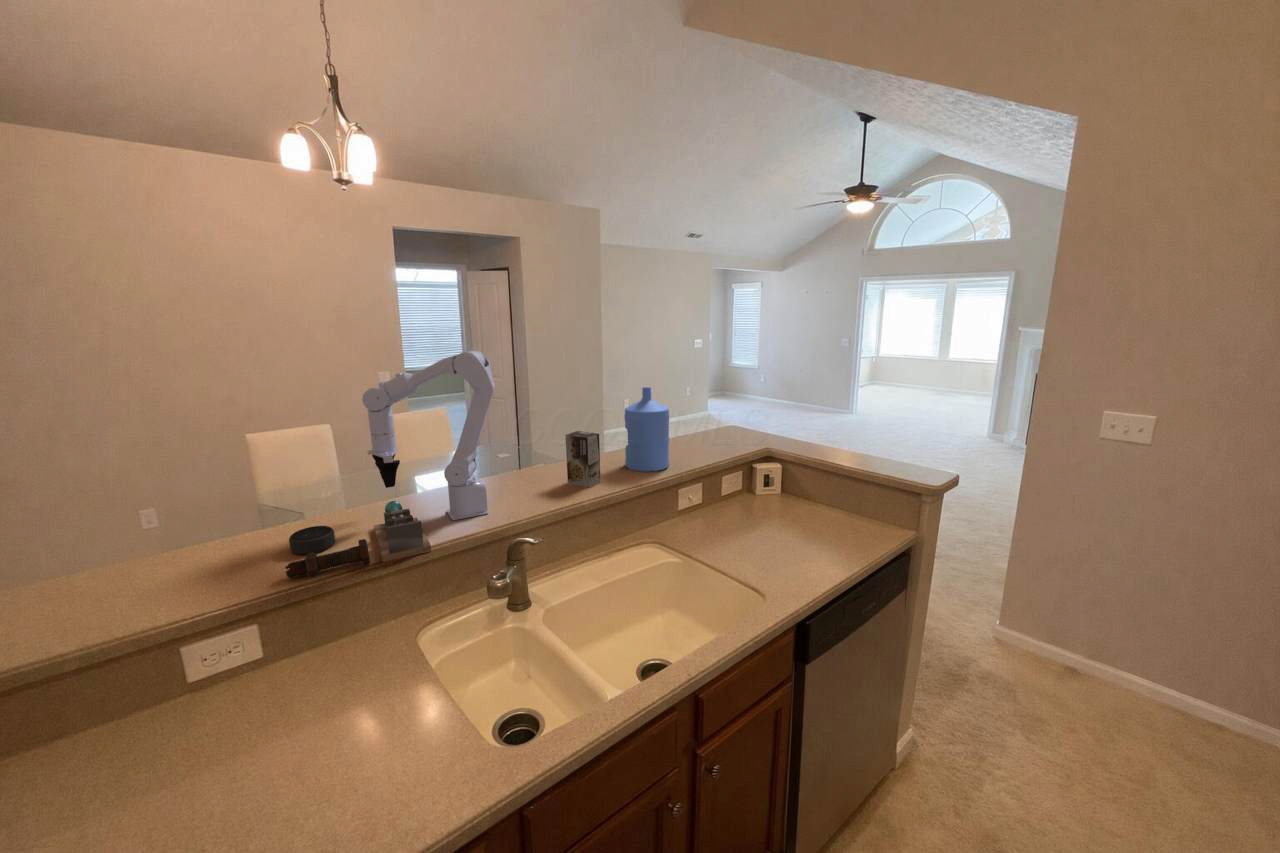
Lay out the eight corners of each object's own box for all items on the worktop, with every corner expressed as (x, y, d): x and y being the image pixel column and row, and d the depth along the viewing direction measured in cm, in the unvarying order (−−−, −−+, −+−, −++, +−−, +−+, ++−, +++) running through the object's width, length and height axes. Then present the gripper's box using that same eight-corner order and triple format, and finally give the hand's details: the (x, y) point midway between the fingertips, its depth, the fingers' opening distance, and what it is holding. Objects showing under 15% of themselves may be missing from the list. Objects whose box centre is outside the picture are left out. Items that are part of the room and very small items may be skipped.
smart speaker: (281, 555, 118) (278, 539, 117) (310, 539, 126) (308, 523, 125) (316, 557, 116) (314, 541, 116) (344, 541, 125) (342, 525, 124)
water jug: (678, 465, 185) (678, 387, 179) (648, 475, 174) (647, 392, 168) (646, 458, 196) (645, 383, 190) (616, 466, 185) (614, 388, 179)
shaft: (385, 517, 134) (383, 502, 133) (402, 514, 136) (400, 499, 135) (392, 537, 121) (390, 521, 120) (411, 534, 123) (409, 518, 122)
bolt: (290, 586, 108) (370, 566, 115) (286, 584, 103) (370, 563, 111) (286, 558, 109) (366, 540, 116) (282, 555, 105) (366, 536, 112)
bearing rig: (374, 530, 130) (371, 502, 129) (417, 522, 135) (414, 495, 134) (382, 562, 114) (379, 529, 112) (431, 551, 119) (428, 520, 117)
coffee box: (601, 482, 167) (600, 433, 164) (589, 487, 162) (587, 437, 159) (579, 477, 172) (577, 430, 169) (566, 483, 167) (564, 434, 164)
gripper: (363, 429, 139) (369, 478, 142) (367, 440, 127) (374, 493, 130) (392, 426, 143) (397, 474, 146) (399, 436, 131) (404, 488, 134)
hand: (388, 483), depth 138 cm, fingers open, 7 cm apart
